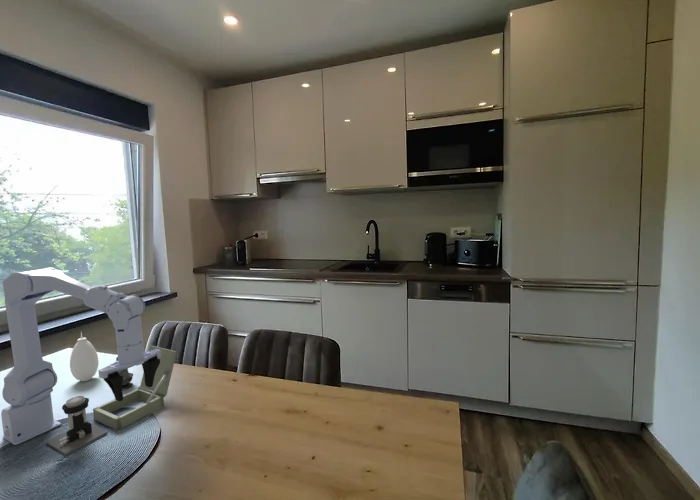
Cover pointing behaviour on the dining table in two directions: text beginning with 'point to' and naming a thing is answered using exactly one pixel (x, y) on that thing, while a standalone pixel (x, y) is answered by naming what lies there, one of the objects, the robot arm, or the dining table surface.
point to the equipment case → (140, 395)
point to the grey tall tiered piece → (126, 378)
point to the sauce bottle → (83, 360)
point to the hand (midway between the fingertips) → (134, 392)
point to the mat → (72, 446)
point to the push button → (76, 418)
